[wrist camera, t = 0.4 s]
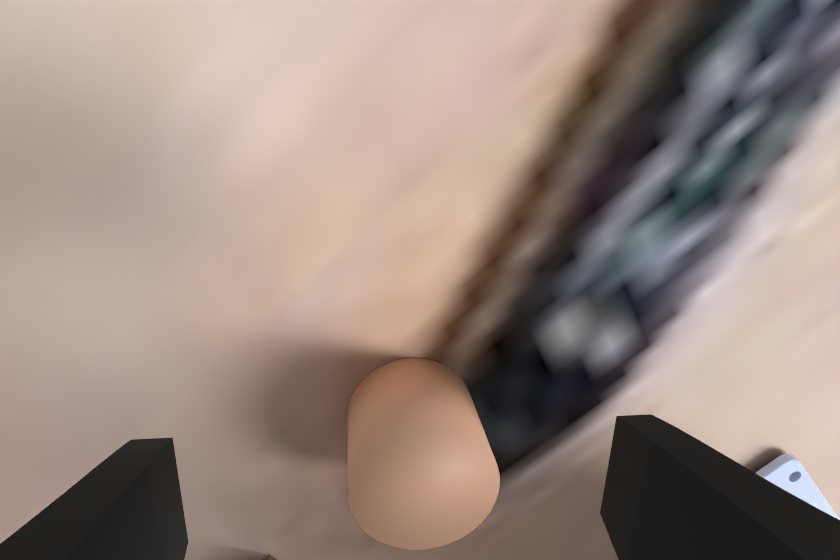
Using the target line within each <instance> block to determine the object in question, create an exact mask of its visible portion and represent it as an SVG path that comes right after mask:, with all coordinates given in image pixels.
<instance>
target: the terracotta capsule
mask: <svg viewBox="0 0 840 560" xmlns="http://www.w3.org/2000/svg"><path fill="white" fill-rule="evenodd" d="M347 420H348V503H349V508H350V511H351V513H352V516H353V518H354V519H355V521H356V523H357V524H358V525H359V527H360V528H361V529H362V530H363V531H364V532H365V533H366V534H367V535H369V536H370V537H372V538H373V539H375V540H377V541H378V542H380V543H382V544H385V545H388V546H391V547H395V548H399V549H406V550H425V549H432V548H437V547H441V546H444V545H447V544H450V543H452V542H455V541H457V540H459V539H461V538H463V537H464V536H466V535H467V534H469V533H470V532H472V531H473V530H474V529H475V528H477V527H478V526H479V525H480V524H481V523H482V522H483V521H484V520H485V518H486V517H487V516H488V514H489V513H490V512H491V510H492V508H493V506H494V504H495V502H496V499H497V497H498V493H499V487H500V475H499V470H498V466H497V463H496V460H495V458H494V455H493V453H492V450H491V447H490V445H489V442H488V440H487V437H486V435H485V432H484V429H483V427H482V424H481V422H480V419H479V417H478V414H477V411H476V409H475V406H474V404H473V401H472V398H471V396H470V393H469V391H468V388H467V386H466V385H465V383H464V381H463V380H462V379H461V378H460V377H459V375H458V374H456V373H455V372H454V371H453V370H452V369H450V368H449V367H447V366H445V365H443V364H441V363H439V362H436V361H433V360H428V359H422V358H406V359H400V360H396V361H392V362H389V363H387V364H384V365H382V366H380V367H379V368H377V369H375V370H374V371H372V372H371V373H369V374H368V375H367V376H366V377H365V378H364V379H363V380H362V381H361V382H360V383H359V385H358V386H357V388H356V389H355V391H354V392H353V395H352V397H351V399H350V402H349V406H348V413H347Z"/></svg>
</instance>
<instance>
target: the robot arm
mask: <svg viewBox="0 0 840 560" xmlns="http://www.w3.org/2000/svg"><path fill="white" fill-rule="evenodd" d="M600 514H601V516H602V519H603V521H604V524H605V526H606V529H607V531H608V534H609V537H610V539H611V542H612V544H613V547H614V549H615V551H616V554H617V556H618V558H619V560H840V519H839V517H838V516H837V515H836V513H835V512H834V510H833V509H832V507H831V506H830V504H829V503H828V502H827V500H826V499H825V497H824V496H823V494H822V493H821V492H820V490H819V489H818V487H817V486H816V484H815V483H814V481H813V480H812V479H811V477H810V476H809V474H808V473H807V471H806V470H805V468H804V467H803V466H802V464H801V463H800V461H798V460H797V459H796V458H795V457H794V456H793V455H791V454H783V455H781V456H779V457H777V458H776V459H774V460H773V461H771V462H770V463H769V464H767V465H766V466H764V467H763V468H761V469H760V470H759V471H757V472H756V473H754V472H752V471H751V470H749V469H747V468H745V467H744V466H742V465H740V464H739V463H737V462H735V461H733V460H732V459H730V458H728V457H727V456H725V455H723V454H721V453H720V452H718V451H716V450H715V449H713V448H711V447H709V446H708V445H706V444H704V443H703V442H701V441H699V440H697V439H696V438H694V437H692V436H690V435H689V434H687V433H685V432H683V431H682V430H680V429H678V428H676V427H674V426H673V425H671V424H669V423H667V422H665V421H663V420H661V419H659V418H657V417H655V416H653V415H632V416H617V418H616V423H615V429H614V435H613V441H612V447H611V453H610V459H609V465H608V471H607V476H606V482H605V488H604V494H603V500H602V506H601V512H600ZM187 545H188V538H187V531H186V525H185V518H184V511H183V505H182V498H181V491H180V485H179V478H178V471H177V465H176V458H175V451H174V445H173V438H158V439H138V440H130V441H129V442H127V443H126V444H125V445H123V446H122V447H121V448H119V449H118V450H117V451H115V452H114V453H113V454H112V455H110V456H109V457H108V458H107V459H105V460H104V461H103V462H102V463H100V464H99V465H98V466H97V467H96V468H94V469H93V470H92V471H91V472H89V473H88V474H87V475H86V476H85V477H83V478H82V479H81V480H80V481H78V482H77V483H76V484H75V485H74V486H72V487H71V488H70V489H69V490H67V491H66V492H65V493H64V494H63V495H61V496H60V497H59V498H58V499H56V500H55V501H54V502H53V503H51V504H50V505H49V506H48V507H46V508H45V509H44V510H43V511H41V512H40V513H39V514H38V515H36V516H35V517H34V518H33V519H31V520H30V521H29V522H28V523H26V524H25V525H24V526H23V527H21V528H20V529H19V530H18V531H16V532H15V533H14V534H13V535H11V536H10V537H9V538H7V539H6V540H5V541H4V542H2V543H1V544H0V560H184V558H185V553H186V549H187Z"/></svg>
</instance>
